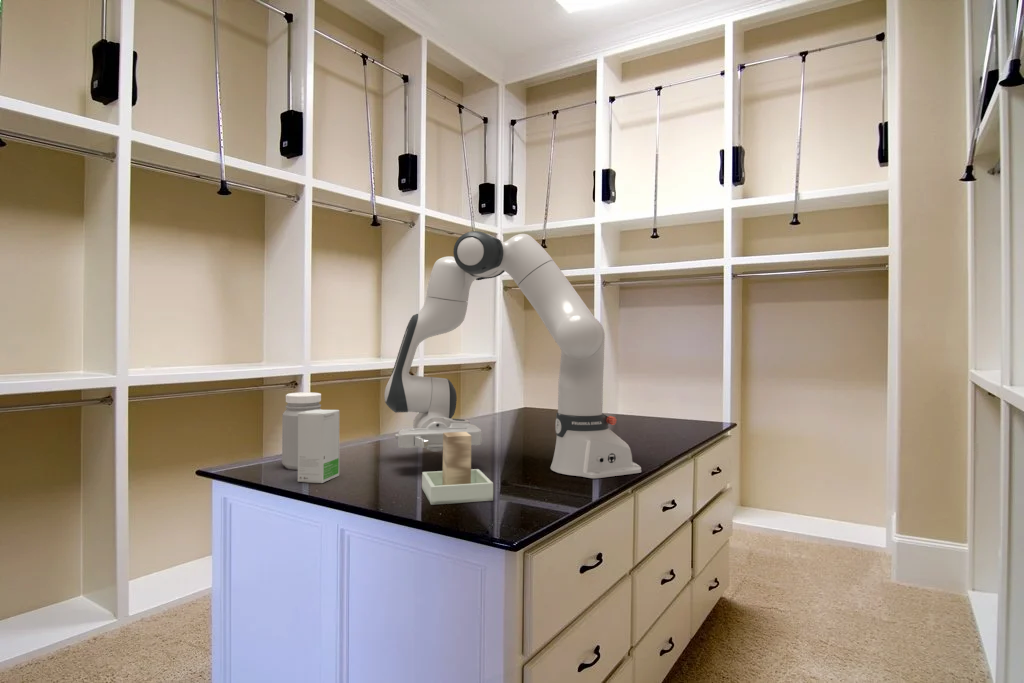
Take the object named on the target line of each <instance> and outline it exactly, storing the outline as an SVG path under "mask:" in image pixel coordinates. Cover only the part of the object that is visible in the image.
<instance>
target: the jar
mask: <svg viewBox="0 0 1024 683" xmlns="http://www.w3.org/2000/svg"><path fill="white" fill-rule="evenodd" d="M321 401H322V393H320V392H310V391H307V392H291V393H287V394H285V403H287V404H286V405H285V410H284V412H283V413H282V423H281V424H282V429H281V430H282V431H281V432H282V433H281V434H282V437H281V439H282V441H281V442H282V444H281V445H282V447H281V448H282V450H281V451H282V452H281V456H282V458H281V464H282V465H283V466H284V467H285V468H286V469H288V470H293V471H294V470H296V471H298V413H299V412H304V411H310V410H323V409H322V408H321V407H322V404H320V403H321Z"/></svg>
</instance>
